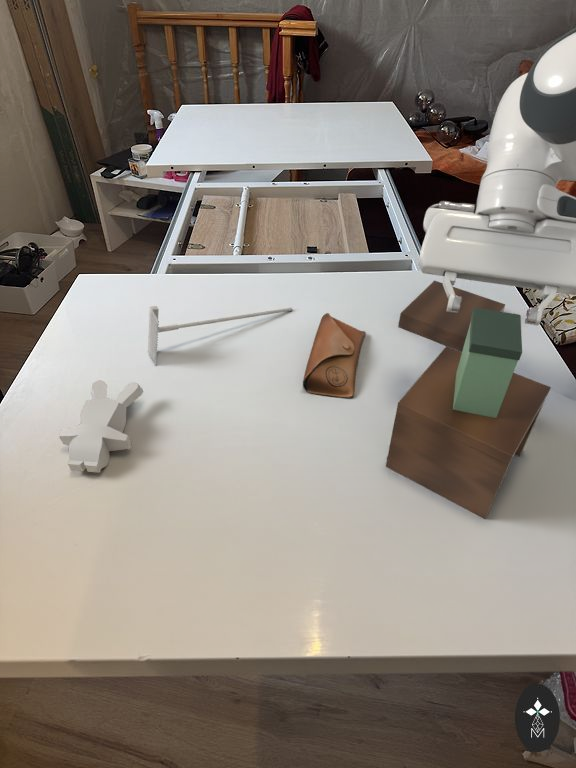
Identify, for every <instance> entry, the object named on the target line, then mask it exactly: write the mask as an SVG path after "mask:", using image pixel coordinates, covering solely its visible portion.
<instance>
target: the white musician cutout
mask: <svg viewBox="0 0 576 768" xmlns="http://www.w3.org/2000/svg"><path fill="white" fill-rule="evenodd" d="M91 384H92V385H91V389H90V395H91V398H92V399H87V400H85V402H84V403H83V406H82V408H81V411H80V418H79V419H80V420H79V421H80V423H79V424H77V425H74V426H71V427H67V428H64V429H62V430H59V434H58V437H59V439H60V441H61V443H62V445H64V446H69V447H68V462H67V466H68V467H69V469H70V470H71V471H76V472H84V471H85V470H86V471H87V472H88V473H89V472H90V473H101V470H102V469H103V468H106V467H107V466H108V465H109V464H110V459H111V456H110V452H113V451H123V450H130V448H131V446H132V443H131V439H130V438H129V437H130V436H129V435H128V434H126V433H124V430H125V428H126V425H127V407H129V406H131V404H132V403H134V402H135V401H136V400H138V399H139V398H140V397H141V396H142V395H143V394H144V390H143V387H141V385H140V384H139V383H137V382H130V383H128V384H126V385H125V386H123V388H122V390H121V391H120V392H119V393H118V394H117V396H116V397H115V398H114V399H112V398H110V397H108V384H107V382H106V381H104V380H95V381H94V382H92V383H91Z"/></svg>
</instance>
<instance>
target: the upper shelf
mask: <svg viewBox="0 0 576 768" xmlns="http://www.w3.org/2000/svg"><path fill="white" fill-rule="evenodd" d="M461 354H462V352H461V351H459V350H456V349H453V348H451V347H448V346H446V345H445V347H444V348H443V349H442V351H440V353H439V354H438V355H437V357H436V358H434V360H433V361H432V362H431V364H430V365H429V366H428V367H427V368H426V369H425V371H424V372H423V373H422V374H421V375H420V376H419V377H418V379H417V380H416V381H415V382H414V383H413V385H412V386H411V387H410V388H409V389H408V390H407V392H406V393H405V394H404V395H403V397H401V398H400V400H399V401H398V402H397V406H396V411H395V416H394V420H393V426H392V431H391V437H390V441H389V447H388V452H387V458H386V463H385V468H388V469H390V470H391V471H394V472H395V473H397V474H399V475H401V476H403V477H405V478H406V479H409V480H410V481H412V482H414V483H416V484H418V485H419V486H422V487H423V488H425V489H428V490H429V491H431V492H433V493H434V494H437V495H438V496H441V497H442V498H444V499H446V500H448V501H450V502H452V503H454V504H456V505H457V506H459V507H461V508H463V509H465V510H466V511H469V512H471V513H473V514H474V515H477V516H479V517H480V518H482V519H484V520H485V519H486V518H487V517H488V515H489V513H490V511H491V509H492V507H493V504H494V502H495V499H496V497H497V495H498V492H499V490H500V488H501V485H502V483H503V481H504V478H505V476H506V474H507V472H508V469H509V467H510V465H511V462H512V460H513V459H514V456H516V457H521V455H522V453H523V451H524V449H525V446H526V444H527V442H528V440H529V437H530V435H531V433H532V431H533V428H534V426H535V425H536V422H537V420H538V418H539V415H540V414H541V411H542V408H543V406H544V404H545V402H546V400H547V397H548V395H549V393H550V390H551V389H552V388H551V386H549V385H547V384H543V383H541V382H539V381H536V380H534V379H531V378H528V377H525V376H523V375H521V374H518V373H516V372H513V375H512V378H511V380H510V383H509V386H508V388H507V391H506V394H505V396H504V399H503V402H502V404H501V407H500V410H499V413H498V415H497V418H493V417H488V416H483V415H477V414H472V413H467V412H462V411H457V410H453V402H454V392H455V381H456V372H457V369H458V365H459V362H460V358H461Z"/></svg>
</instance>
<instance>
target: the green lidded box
mask: <svg viewBox="0 0 576 768" xmlns="http://www.w3.org/2000/svg"><path fill="white" fill-rule="evenodd" d="M521 316H522V315H521V314H520V313H519V314H517V313H512V312H505V311H503V312H500V311H493V310H487V309H480V308H473V312H472V315H471V322H470V326H469V329H468V333H467V337H466V340H465V344H464V347H463V351H462V354H461V358H460V362H459V365H458V369H457V372H456V381H455V392H454V402H453V410H457V411H462V412H467V413H472V414H477V415H483V416H488V417H493V418H497V415H498V413H499V410H500V407H501V404H502V402H503V399H504V396H505V394H506V391H507V388H508V386H509V383H510V380H511V378H512V375H513V373H515V369H516V367H517V364H518V361H520V359H521V356H522V355H523V340H522V320H521V319H522V317H521Z"/></svg>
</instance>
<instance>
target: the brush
mask: <svg viewBox="0 0 576 768" xmlns="http://www.w3.org/2000/svg"><path fill="white" fill-rule="evenodd" d="M148 311H149V313H148V315H149V316H148V334H147V335H148V339H147V354H148V356H149V357H150V359H151V362H152V363H153V365H154V366H157V361H158V360H157V359H158V357H157V356H158V345H159V342H158V341H159V339H158V338H159V333H163V332H164V333H165V332H170V331H178V330H179V329H184V328H190V327H197V326H203V325H211V324H215V323H223V322H230V321H234V320H235V321H236V320H242V319H249V318H253V317H254V318H255V317H260V316H261V317H262V316H267V315H274V314H281V313H287V312H293V308H292V307H285V308H279V309H272V310H267V311H259V312H253V313H246V314H240V315H239V314H238V315H233V316H227V317H226V316H225V317H220V318H213V319H208V320H207V319H206V320H200V321H195V322H194V321H193V322H187V323H180V324H176V323H175V324H170V325H163V326H159V325H160V324H159V323H160V321H159V312H160V311H159V307H158V306H157V305H154V306H153V305H152V306H149V310H148Z"/></svg>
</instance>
